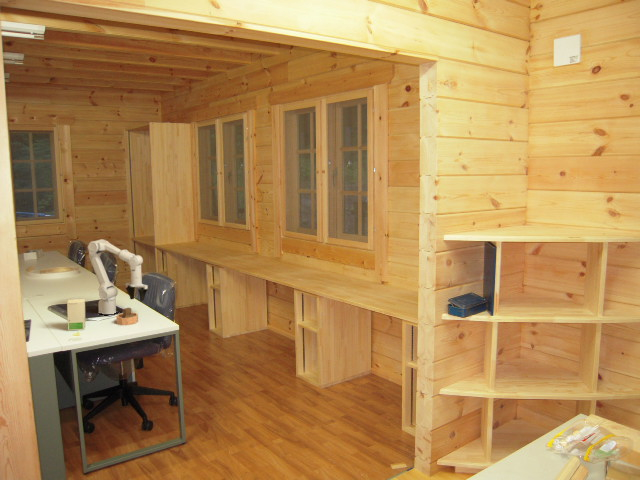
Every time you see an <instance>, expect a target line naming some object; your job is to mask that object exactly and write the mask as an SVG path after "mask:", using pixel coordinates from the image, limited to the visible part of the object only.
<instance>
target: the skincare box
mask: <svg viewBox="0 0 640 480" xmlns="http://www.w3.org/2000/svg"><path fill="white" fill-rule="evenodd" d="M66 305H67V306H66V310H67V331H68V332H69V331H85V328H86V299H83V298H82V299H81V298H78V299H75V298H74V299H68V300H67V303H66Z"/></svg>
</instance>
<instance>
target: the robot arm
mask: <svg viewBox="0 0 640 480" xmlns="http://www.w3.org/2000/svg"><path fill="white" fill-rule="evenodd" d="M87 250H88V259H89V260H90V264H91V266H92V267H93V268H92V269H93V271H94V274H95V276H96V279H97V281H98V283H99V287H98V289H97V290H98V292H99V294H98V295H99V298H100V299H99V301H98V313H102V314H114V313H116V312H117V307H116V306H117V303H116V298H117V295H118V293H119V292H118V288H117V287H115V284H114V283H112V281H110V279H109V277H108V274H107V271H106V269H105V266H104V264H103V261H102V259H101V255H102V253H104V252H105V251H107V252H109V253H111V254H114V255H115V256H116V255H117V256H118V258H119V259H120V260H122V261H124V262H125V263H127V264H128V265H129V269H130V279H131V282H127V283H125V290H126V291H127V293H128V296H129V299H130V300H134V299H135V290H136V288H137V290H138V293H139V300H140V301H141V302H143V301H144V300H145V297H146V294H147V291H148V289H149V288H148V287H149V285H148V284H145V283H144V284H143V281H142V280H143V279H142V278H143V277H142V276H143V275H142V265H143V263H144V258H143V257H142V256H141V255H139V254H135V253H132V252H130V251H129V250H128V249H120V248H119V247H117V246H115V245H113V244H112V243H110V242H109V241H108V240H106V239H103V238H101V239H97V240H93V241H92V240H91V241H90V242H89V243H88V245H87Z"/></svg>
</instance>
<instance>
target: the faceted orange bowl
mask: <svg viewBox="0 0 640 480" xmlns="http://www.w3.org/2000/svg"><path fill="white" fill-rule="evenodd" d="M115 317H116V324H117V325H119V326H131V325H135V324H137V323H138V322H139V314H138V313H137V312H131V317H129V318H123V312H122V313H118V314H116V316H115Z"/></svg>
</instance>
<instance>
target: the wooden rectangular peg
mask: <svg viewBox="0 0 640 480" xmlns="http://www.w3.org/2000/svg"><path fill="white" fill-rule="evenodd" d="M122 313H123V318H129V317H131V313H132V308H131V307H125V308H123V309H122Z"/></svg>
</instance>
